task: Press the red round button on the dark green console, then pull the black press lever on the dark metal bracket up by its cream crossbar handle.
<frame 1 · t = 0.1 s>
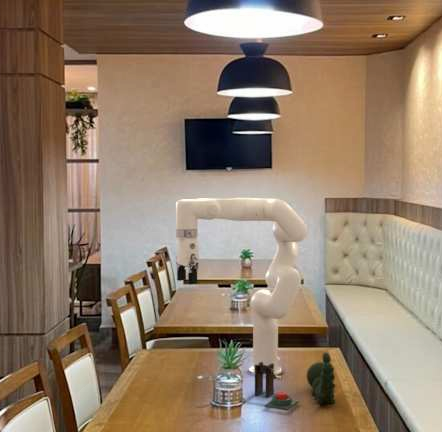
hand: (187, 282, 237), 37 cm above the table, tool pointing down, fingers open, 9 cm apart
lever bracket: (264, 398, 224), on the table
console: (281, 408, 214), on the table
button: (281, 396, 214), point 4 cm above the table, slide at 0.1 cm
press lever: (269, 373, 227), point 8 cm above the table, hinge at -30.0°
green bumpy upright shape: (322, 399, 223), on the table
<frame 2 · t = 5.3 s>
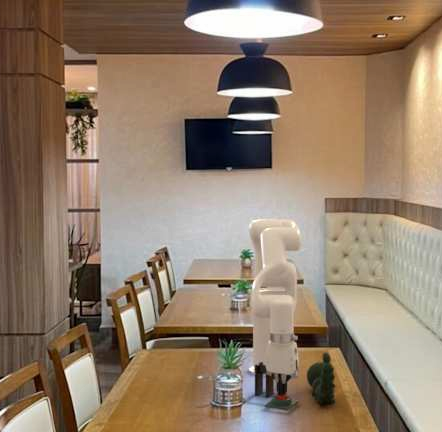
hand: (281, 394, 214), 5 cm above the table, tool pointing down, fingers closed
button: (281, 396, 214), point 4 cm above the table, slide at -0.1 cm, touching gripper
everything else where it was.
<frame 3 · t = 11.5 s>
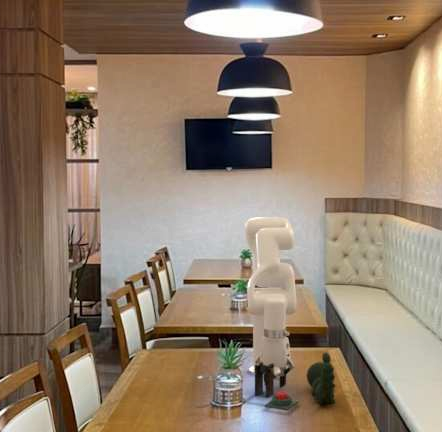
hand: (274, 384, 231), 2 cm above the table, tool pointing down, fingers closed on press lever, 5 cm apart
button: (281, 396, 214), point 4 cm above the table, slide at 0.1 cm
press lever: (269, 373, 227), point 8 cm above the table, hinge at -30.0°, touching gripper
everything else where it was.
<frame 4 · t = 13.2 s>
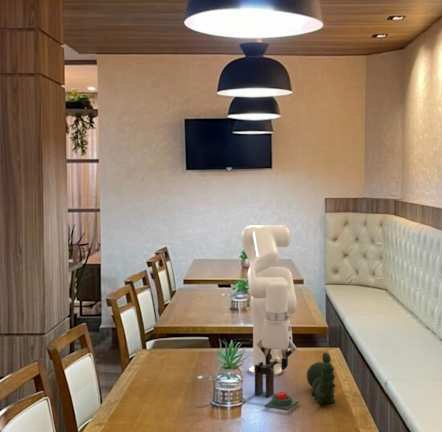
hand: (276, 367, 232), 8 cm above the table, tool pointing down, fingers closed on press lever, 5 cm apart
press lever: (270, 365, 227), point 10 cm above the table, hinge at 1.9°, touching gripper
everything else where it was.
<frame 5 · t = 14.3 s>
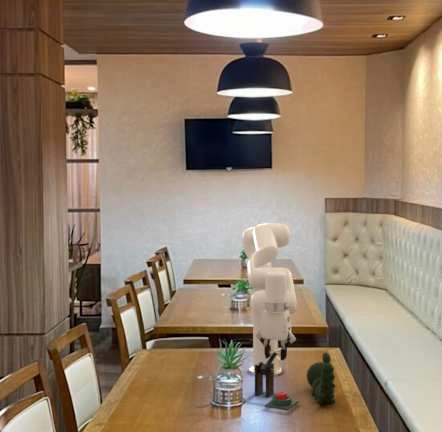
hand: (275, 357, 231), 12 cm above the table, tool pointing down, fingers closed on press lever, 5 cm apart
press lever: (269, 361, 227), point 12 cm above the table, hinge at 20.5°, touching gripper
everything else where it was.
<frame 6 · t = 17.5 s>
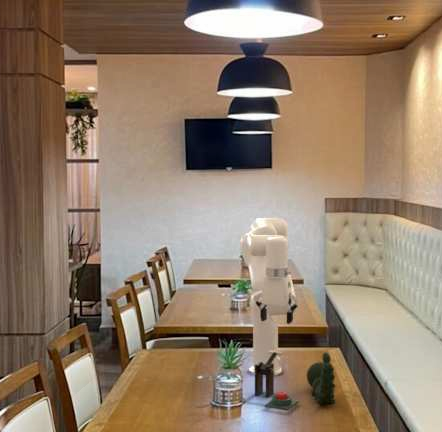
hand: (276, 321, 231), 24 cm above the table, tool pointing down, fingers open, 9 cm apart
press lever: (269, 361, 227), point 12 cm above the table, hinge at 21.0°
everything else where it was.
at the end: button pushed in 1.0 cm at the most during the clip and back out by the end; press lever at +21° (first picture: -30°) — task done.
